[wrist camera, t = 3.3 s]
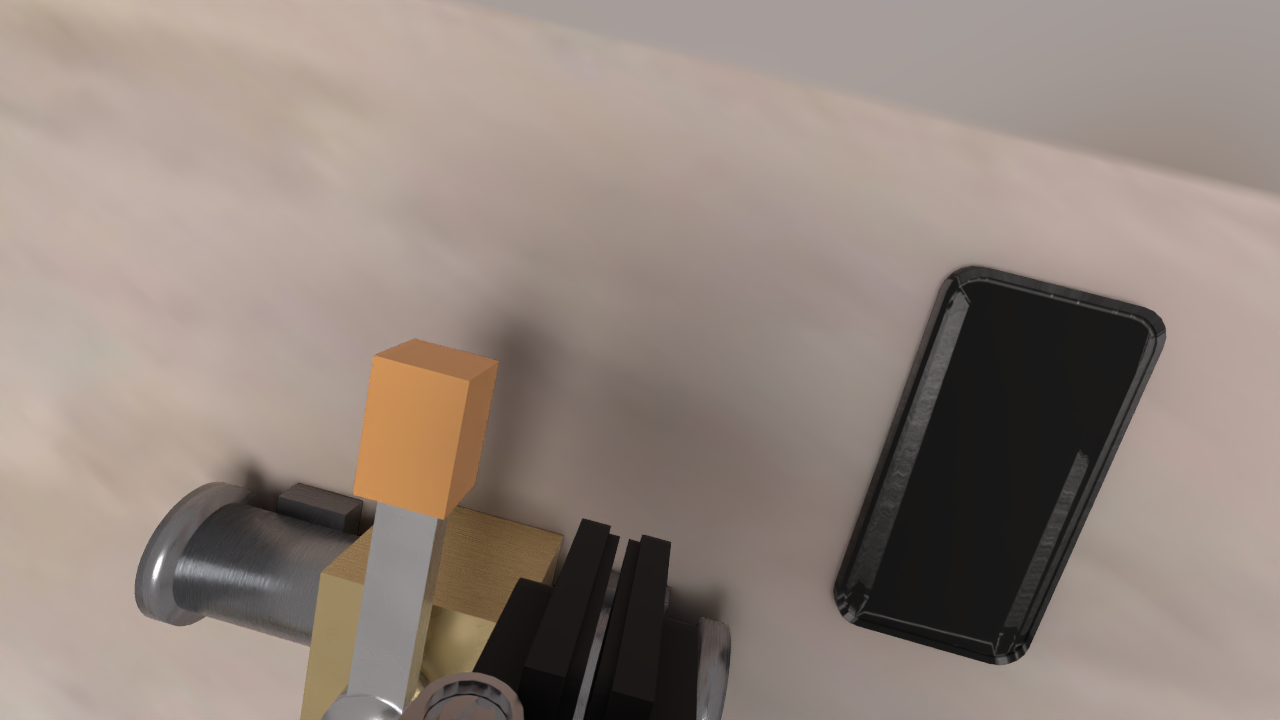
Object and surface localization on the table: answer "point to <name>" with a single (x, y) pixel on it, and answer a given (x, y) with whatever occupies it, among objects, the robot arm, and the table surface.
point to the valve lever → (410, 509)
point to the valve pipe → (358, 584)
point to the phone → (994, 461)
